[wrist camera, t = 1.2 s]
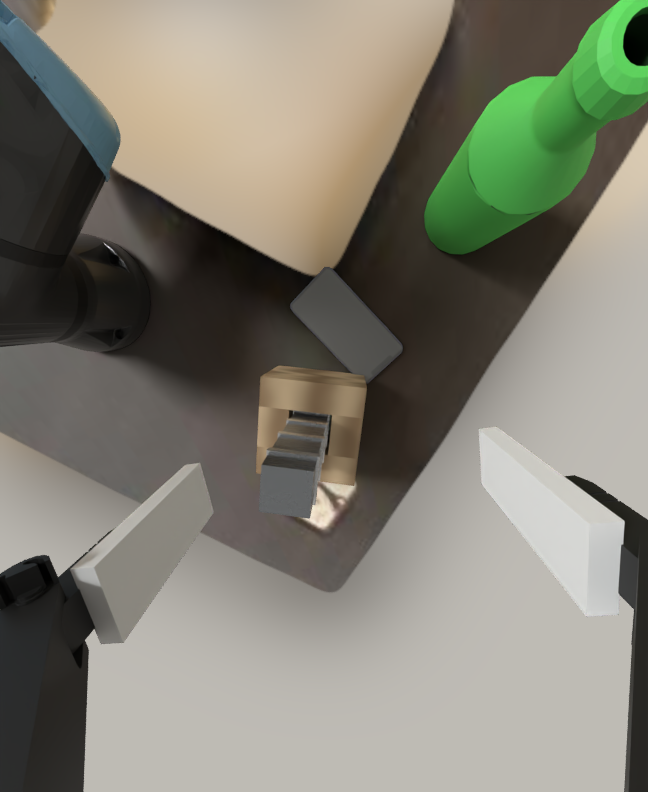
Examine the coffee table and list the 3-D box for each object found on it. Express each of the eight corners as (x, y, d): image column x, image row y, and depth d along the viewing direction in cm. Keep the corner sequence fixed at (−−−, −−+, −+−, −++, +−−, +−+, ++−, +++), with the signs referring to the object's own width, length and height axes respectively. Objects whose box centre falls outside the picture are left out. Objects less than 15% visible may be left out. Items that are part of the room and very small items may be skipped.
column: (300, 423, 46) (256, 513, 25) (303, 394, 45) (258, 462, 24) (330, 427, 46) (311, 521, 24) (333, 398, 45) (316, 469, 23)
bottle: (497, 250, 38) (743, 133, 14) (424, 261, 39) (539, 168, 15) (497, 169, 37) (783, -128, 12) (420, 182, 38) (545, -68, 13)
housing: (273, 444, 47) (252, 479, 37) (278, 365, 44) (256, 379, 34) (353, 454, 46) (354, 492, 36) (363, 374, 43) (367, 391, 33)
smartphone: (327, 263, 40) (406, 348, 42) (328, 264, 41) (405, 348, 42) (287, 306, 42) (364, 387, 43) (288, 307, 43) (364, 385, 44)
